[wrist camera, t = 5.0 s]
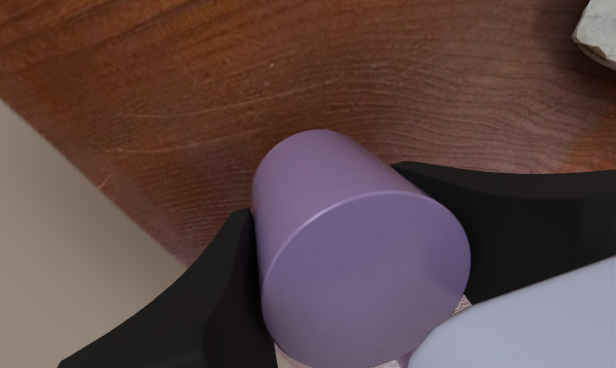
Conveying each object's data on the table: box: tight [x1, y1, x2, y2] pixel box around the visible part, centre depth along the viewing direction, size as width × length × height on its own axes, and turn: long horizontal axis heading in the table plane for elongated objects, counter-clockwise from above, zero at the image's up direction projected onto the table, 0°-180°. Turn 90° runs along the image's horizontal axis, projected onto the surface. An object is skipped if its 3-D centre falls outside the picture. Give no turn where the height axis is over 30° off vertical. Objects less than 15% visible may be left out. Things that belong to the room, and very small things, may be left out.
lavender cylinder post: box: [252, 130, 471, 368], centre depth 10 cm, size 5×5×6 cm
